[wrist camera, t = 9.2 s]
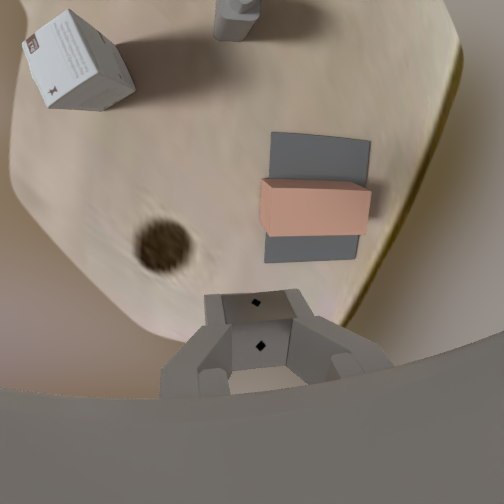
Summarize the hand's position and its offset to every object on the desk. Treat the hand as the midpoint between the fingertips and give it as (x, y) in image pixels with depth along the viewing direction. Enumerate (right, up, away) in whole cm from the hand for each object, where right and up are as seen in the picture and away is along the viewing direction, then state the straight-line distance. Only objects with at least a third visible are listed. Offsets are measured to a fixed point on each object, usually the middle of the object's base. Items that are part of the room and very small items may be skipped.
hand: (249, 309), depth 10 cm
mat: (+7, +7, +24) cm, 26 cm away
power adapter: (-2, +25, +15) cm, 29 cm away
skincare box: (-14, +19, +15) cm, 28 cm away
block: (+1, +6, +20) cm, 21 cm away
